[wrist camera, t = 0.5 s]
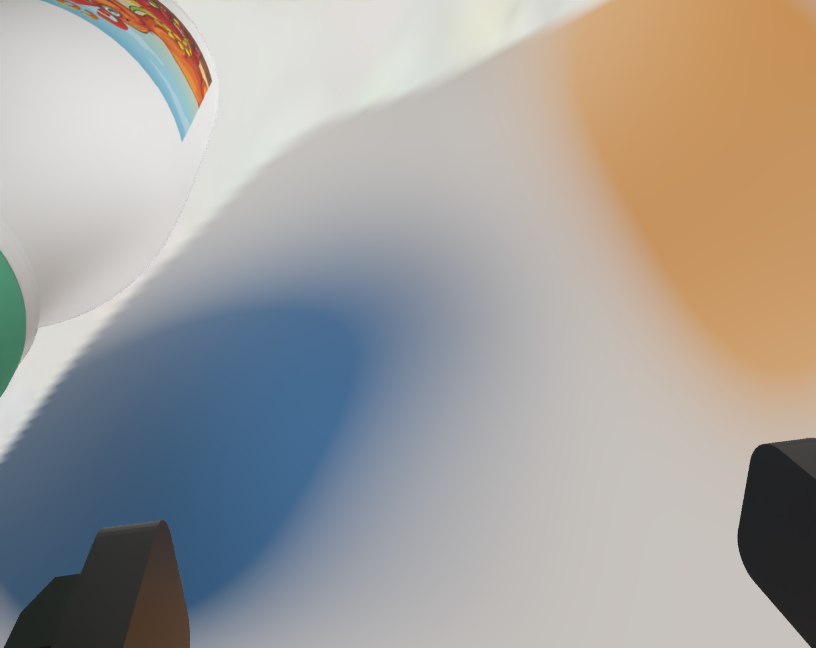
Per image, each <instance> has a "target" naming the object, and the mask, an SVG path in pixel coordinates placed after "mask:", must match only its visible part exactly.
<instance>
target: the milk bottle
mask: <svg viewBox="0 0 816 648" xmlns="http://www.w3.org/2000/svg"><path fill="white" fill-rule="evenodd" d="M218 106H219V82H218V75H217V70H216V66H215V63H214V60H213V56H212V54H211V51H210V49H209V47H208V45H207V43H206V41H205V39H204V37H203V35H202V34H201V32H200V30H199V29H198V27H197V26H196V25H195V23H194V22H193V21H192V19H191V18H190V17H189V16H188V15H187V13H186V12H185V11H184V10H183V9H182V8H181V7H180V6H179V5H178V4H177V3H175V2H174V1H173V0H0V397H1V396H2V394H3V393H4V391H5V390H6V388H7V386H8V384H9V382H10V380H11V378H12V376H13V375H14V373H15V371H16V369H17V367H18V365H19V364H20V363H21V361H22V360H23V359H24V357H25V356H26V354H27V353H28V351H29V349H30V347H31V345H32V343H33V341H34V339H35V336H36V333H37V330H38V328H41V327H45V326H49V325H53V324H56V323H60V322H63V321H66V320H69V319H72V318H75V317H77V316H80V315H82V314H84V313H86V312H89V311H91V310H93V309H94V308H96V307H98V306H100V305H102V304H104V303H105V302H107V301H109V300H111V299H112V298H113V297H115V296H116V295H117V294H119V293H120V292H122V291H123V290H124V289H125V288H127V287H128V286H129V285H130V284H131V283H133V282H134V281H135V280H136V279H137V278H138V277H139V276H140V275H141V274H142V273H143V272H144V271H145V270H146V268H147V267H148V266H149V265H150V264H151V263H152V261H153V260H154V259H155V258H156V256H157V255H158V254H159V252H160V251H161V250H162V248H163V247H164V245H165V243H166V242H167V240H168V238H169V236H170V234H171V232H172V231H173V229H174V227H175V225H176V223H177V221H178V219H179V217H180V215H181V213H182V210H183V208H184V206H185V203H186V201H187V198H188V196H189V193H190V191H191V188H192V186H193V183H194V181H195V178H196V176H197V173H198V171H199V168H200V165H201V163H202V160H203V157H204V154H205V152H206V149H207V146H208V143H209V141H210V138H211V135H212V132H213V129H214V125H215V122H216V117H217V112H218Z"/></svg>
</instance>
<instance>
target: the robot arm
mask: <svg viewBox="0 0 816 648" xmlns="http://www.w3.org/2000/svg"><path fill="white" fill-rule="evenodd" d="M738 547H739V552H740V555H741V559H742V561H743V564H744V566H745V568H746V570H747V572H748V574H749V575H750V577H751V578H752V579H753V581H754V582H755V583H756V584H757V585H758V587H759V588H760V589H761V590H762V591H763V592H764V594H765V595H766V596H767V597H768V598H769V599H770V600H771V602H772V603H773V604H774V605H775V606H776V607H777V609H778V610H779V611H780V612H781V613H782V614H783V615H784V616H785V618H786V619H787V620H788V621H789V622H790V624H791V625H792V626H793V627H794V628H795V629H796V630H797V632H798V633H799V634H800V635H801V636H802V637H803V638H804V640H805V641H806V642H807V643H808V644H809V646H810V647H811V648H816V438H806V439H800V440H791V441H783V442H776V443H768V444H762V445H759V446H758V447H757V448H756V449H755V451H754V452H753V454H752V456H751V460H750V465H749V471H748V477H747V483H746V488H745V494H744V500H743V505H742V511H741V517H740V523H739V528H738ZM4 648H190V629H189V618H188V612H187V607H186V602H185V598H184V593H183V589H182V584H181V579H180V574H179V570H178V565H177V560H176V556H175V551H174V547H173V542H172V537H171V533H170V530H169V527H168V525H167V523H166V522H165V521H164V520H161V521H153V522H145V523H137V524H130V525H122V526H114V527H107V528H102V529H100V531H99V532H98V533H97V535H96V537H95V540H94V542H93V545H92V547H91V550H90V552H89V555H88V557H87V560H86V562H85V565H84V567H83V569H82V572H81V574H75V575H68V576H61V577H55V578H54V579H53V580H52V581H51V582H50V583H49V584H48V585H47V586H46V587H45V588H44V589H43V590H42V591H41V592H40V593H39V594H38V595H37V597H36V598H35V599H34V600H33V601H32V602H31V603H30V604H29V605H28V606H27V607H26V608H25V609H24V610H23V611H22V612H21V614H20V615H19V617H18V619H17V622H16V624H15V626H14V628H13V630H12V632H11V634H10V636H9V638H8V640H7V642H6V644H5V646H4Z"/></svg>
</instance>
